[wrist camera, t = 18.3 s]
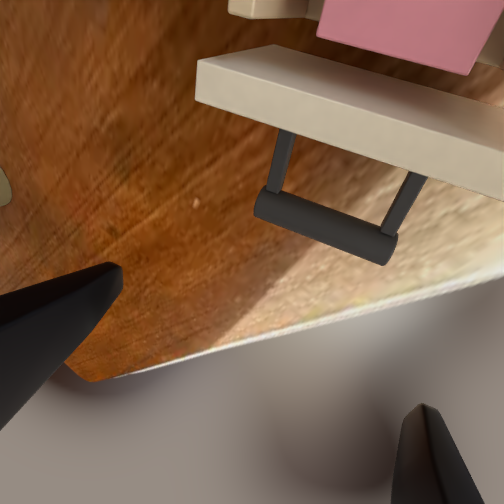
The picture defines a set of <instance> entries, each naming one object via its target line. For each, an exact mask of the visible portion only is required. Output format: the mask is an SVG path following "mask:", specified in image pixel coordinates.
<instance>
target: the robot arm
mask: <svg viewBox="0 0 504 504" xmlns="http://www.w3.org/2000/svg"><path fill="white" fill-rule="evenodd" d="M122 289H123V271H122V267H121V266H119V265H117V264H115V263H113V262H105V263H101V264H98V265H95V266H92V267H89V268H86V269H82V270H79V271H76V272H73V273H70V274H67V275H63V276H60V277H57V278H54V279H51V280H47V281H44V282H41V283H38V284H35V285H32V286H28V287H25V288H22V289H19V290H16V291H13V292H9V293H6V294H3V295H0V431H1V429H2V428H3V427H4V426H5V425H6V424H7V423H8V422H9V421H10V420H11V419H12V418H13V416H14V415H15V414H16V413H17V412H18V411H19V410H20V409H21V408H22V407H23V406H24V404H25V403H26V402H27V401H28V400H29V399H30V398H31V397H32V396H33V395H34V394H35V393H36V391H37V390H38V389H39V388H40V387H41V386H42V385H43V383H45V381H47V380H48V378H49V377H50V376H51V375H52V374H53V373H54V372H55V371H56V370H57V369H58V367H59V366H60V365H61V364H62V363H63V362H64V361H65V360H66V359H67V358H68V357H69V356H70V355H71V353H72V352H73V351H74V350H75V349H76V348H77V347H78V346H79V345H80V344H81V343H82V341H83V340H84V339H85V338H86V337H87V336H88V335H89V334H90V333H91V331H92V330H93V329H94V328H95V326H96V325H97V324H98V322H99V321H100V320H101V318H102V317H103V316H104V314H105V313H106V311H107V310H108V309H109V307H110V306H111V305H112V303H113V302H114V301H115V299H116V298H117V297H118V295H119V294H120V293H121V291H122ZM391 504H485V503H484V501H483V499H482V498H481V495H480V493H479V491H478V489H477V487H476V485H475V483H474V481H473V479H472V477H471V475H470V473H469V471H468V469H467V467H466V465H465V463H464V461H463V459H462V457H461V455H460V453H459V451H458V449H457V447H456V445H455V443H454V441H453V439H452V437H451V435H450V433H449V431H448V429H447V427H446V424H445V422H444V420H443V418H442V417H441V414H440V413H439V412H438V410H436V409H435V408H433V407H430V406H428V405H426V404H424V403H421V404H418V405H417V406H416V407H415V408H414V409H413V410H412V411H411V412H410V413H409V414H408V415H407V416H406V417H405V418H404V420H403V423H402V428H401V434H400V440H399V445H398V451H397V457H396V462H395V469H394V474H393V481H392V491H391Z"/></svg>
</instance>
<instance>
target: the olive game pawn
mask: <svg viewBox="0 0 504 504" xmlns="http://www.w3.org/2000/svg"><path fill="white" fill-rule="evenodd" d="M11 198H12V191H11V187H10V184H9V181H8V179H7V177H6V176H5V174H4V172H3V170H2V169H1V168H0V206H4V205H6V204H8V203H10V201H11Z"/></svg>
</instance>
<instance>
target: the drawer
mask: <svg viewBox="0 0 504 504" xmlns="http://www.w3.org/2000/svg"><path fill="white" fill-rule="evenodd" d="M324 1H325V0H229V2H228V12H229V13H230V14H233V15H237V16H240V17H244V18H248V19H273V18H307V19H311V20H315V21H319V20H320V16H321V13H322V9H323V5H324ZM476 62H479V63H483V64H487V65H491V66H495V67H498V68H500V69H502V70H503V71H504V10H503V12H502V13H501V15H500V17H499V19H498V21H497V23H496V25H495V26H494V28H493V30H492V32H491V34H490V36H489V38H488V39H487V41H486V43H485V45H484V47H483V49H482V51H481V53H480V54H479V56H478V58H477V60H476ZM195 100H196V101H198V102H201V103H204V104H207V105H210V106H213V107H216V108H219V109H222V110H225V111H229V112H232V113H235V114H238V115H241V116H244V117H247V118H250V119H253V120H256V121H259V122H262V123H265V124H268V125H271V126H274V127H277V128H280V129H279V134H278V138H277V142H276V146H275V151H274V155H273V159H272V164H271V168H270V172H269V176H268V181H267V185H265V186H264V187H263V188H262V189H261V191H260V193H259V195H258V197H257V199H256V202H255V206H254V216H255V217H257V218H260V219H262V220H265V221H268V222H270V223H273V224H275V225H278V226H280V227H283V228H286V229H288V230H291V231H293V232H296V233H299V234H301V235H304V236H306V237H309V238H311V239H314V240H317V241H319V242H322V243H324V244H327V245H330V246H332V247H335V248H337V249H340V250H342V251H345V252H348V253H350V254H353V255H355V256H358V257H360V258H363V259H366V260H368V261H371V262H373V263H376V264H379V265H381V266H384V265H386V264H387V262H388V261H389V260H390V258H391V256H392V254H393V252H394V250H395V247H396V245H397V241H398V233H397V231H398V229H399V227H400V226H401V224H402V222H403V220H404V219H405V217H406V215H407V213H408V212H409V210H410V208H411V206H412V205H413V203H414V201H415V199H416V198H417V196H418V194H419V192H420V191H421V189H422V187H423V185H424V183H425V182H426V180H427V178H428V177H430V178H433V179H436V180H439V181H442V182H445V183H448V184H451V185H454V186H457V187H460V188H464V189H467V190H470V191H473V192H476V193H479V194H482V195H485V196H488V197H491V198H494V199H497V200H500V201H503V202H504V108H501V107H498V106H494V105H491V104H487V103H483V102H480V101H476V100H473V99H469V98H465V97H462V96H458V95H454V94H451V93H447V92H444V91H440V90H436V89H433V88H429V87H426V86H422V85H418V84H415V83H411V82H408V81H404V80H400V79H397V78H393V77H390V76H386V75H382V74H379V73H375V72H372V71H368V70H364V69H361V68H357V67H354V66H350V65H346V64H343V63H339V62H336V61H332V60H328V59H325V58H321V57H318V56H314V55H310V54H307V53H303V52H300V51H296V50H292V49H289V48H285V47H281V46H278V45H274V44H273V45H268V46H264V47H259V48H254V49H249V50H244V51H239V52H235V53H230V54H225V55H220V56H215V57H210V58H206V59H201V60H198V61H197V75H196V89H195ZM297 134H299V135H302V136H305V137H308V138H311V139H314V140H317V141H320V142H323V143H326V144H329V145H332V146H335V147H338V148H341V149H345V150H348V151H351V152H354V153H357V154H360V155H363V156H366V157H369V158H372V159H375V160H378V161H381V162H384V163H387V164H390V165H393V166H396V167H399V168H402V169H406V170H409V172H408V174H407V176H406V178H405V180H404V182H403V184H402V186H401V187H400V189H399V191H398V193H397V195H396V197H395V199H394V201H393V203H392V205H391V207H390V208H389V210H388V212H387V214H386V216H385V218H384V220H383V222H382V224H381V227H380V226H378V225H375V224H372V223H369V222H367V221H364V220H361V219H358V218H356V217H353V216H350V215H347V214H345V213H342V212H339V211H336V210H334V209H331V208H328V207H325V206H323V205H320V204H317V203H315V202H312V201H309V200H306V199H304V198H301V197H298V196H295V195H293V194H290V193H287V192H284V191H282V190H281V189H282V186H283V183H284V179H285V175H286V172H287V168H288V164H289V161H290V157H291V153H292V149H293V146H294V142H295V138H296V135H297Z"/></svg>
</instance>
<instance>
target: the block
mask: <svg viewBox="0 0 504 504" xmlns="http://www.w3.org/2000/svg"><path fill="white" fill-rule="evenodd" d="M503 10H504V0H325V1H324V5H323V9H322V13H321V16H320V20H319V24H318V28H317V32H316V36H317V37H320V38H323V39H327V40H331V41H335V42H339V43H342V44H346V45H350V46H354V47H358V48H361V49H365V50H369V51H373V52H377V53H380V54H384V55H388V56H392V57H396V58H399V59H403V60H407V61H411V62H415V63H418V64H422V65H426V66H430V67H434V68H437V69H441V70H445V71H449V72H453V73H456V74H460V75H464V76H467V75H468V74H469V73H470V71H471V69H472V67H473V66H474V64H475V62H476V60H477V58H478V56H479V54H480V53H481V51H482V49H483V47H484V45H485V43H486V41H487V39H488V38H489V36H490V34H491V32H492V30H493V28H494V26H495V25H496V23H497V21H498V19H499V17H500V15H501V13H502V12H503Z"/></svg>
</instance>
